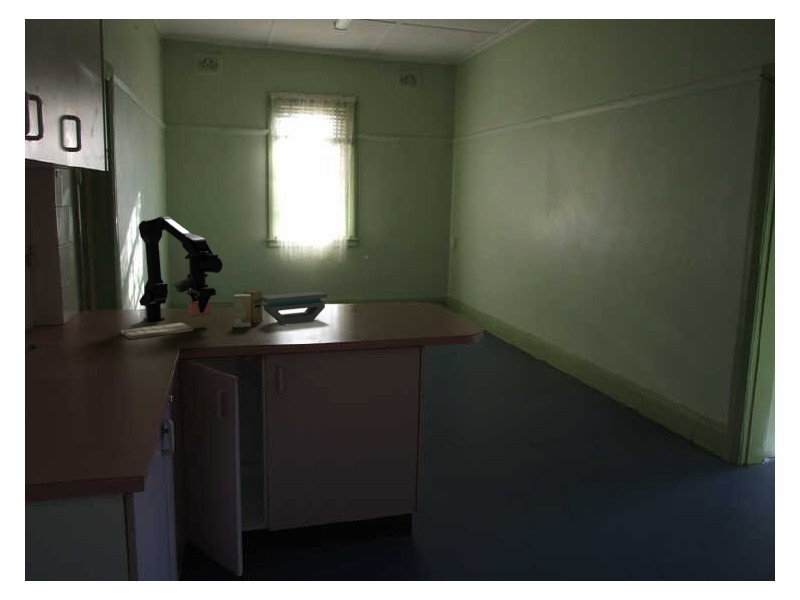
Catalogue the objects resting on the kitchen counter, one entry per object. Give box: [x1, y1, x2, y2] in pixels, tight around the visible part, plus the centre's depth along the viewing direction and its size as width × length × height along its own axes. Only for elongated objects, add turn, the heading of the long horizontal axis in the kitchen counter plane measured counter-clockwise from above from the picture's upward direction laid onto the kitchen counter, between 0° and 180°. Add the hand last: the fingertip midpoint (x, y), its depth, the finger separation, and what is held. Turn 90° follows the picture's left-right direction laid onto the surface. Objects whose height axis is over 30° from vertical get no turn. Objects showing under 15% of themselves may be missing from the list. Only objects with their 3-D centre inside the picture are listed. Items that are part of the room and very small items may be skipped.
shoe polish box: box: [243, 289, 263, 323], centre depth 244 cm, size 5×5×12 cm
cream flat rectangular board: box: [120, 322, 194, 340], centre depth 223 cm, size 12×22×1 cm, turn 131°
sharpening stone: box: [261, 290, 328, 326], centre depth 243 cm, size 25×8×11 cm, turn 122°
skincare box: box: [233, 293, 252, 328], centre depth 234 cm, size 6×4×12 cm
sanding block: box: [187, 300, 212, 317], centre depth 233 cm, size 4×7×5 cm, turn 131°
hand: (199, 311), depth 233 cm, fingers closed on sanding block, 4 cm apart
